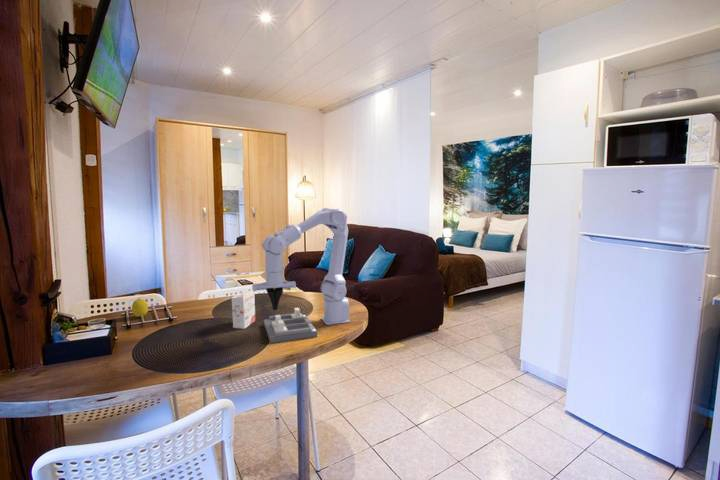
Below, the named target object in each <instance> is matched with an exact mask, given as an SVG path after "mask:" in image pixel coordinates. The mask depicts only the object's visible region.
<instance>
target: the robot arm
mask: <svg viewBox="0 0 720 480" xmlns="http://www.w3.org/2000/svg"><path fill="white" fill-rule="evenodd" d="M347 215H348V214H346V213H345V212H344V210H342V209H341V208H328V207H324V208H322V209H321V210H318V211H317V212H315V213H313V215H311V216H309V217H308V218H306V219H305V220H303V221H302V222H300V223H299V224H297V225H295V224H286V225H285V228H283V229H282V230H280V231H279V232H278V231H275V232H273V233H274V235H268V236H267V237H265V238H264V240H263V242H262V244H261V247H262V249H263V250H264V252H265V256H264V257H265V258H264V261H265V268H264V269H265V282H260V283H253V284H252V285H251V286H252V290H253V291H254V292H256V291H264V290H265V291H266V292H267V294H268V297H269V299H270V303H271V308H272V311H276V310H278V306H279V302H280V300H281V298H282V295H283V293H284V289H291V288H293V289H296V287H297V283H296V281H294V280H293V281H291V280H289V281H288V280H287V281H285V280H284V278H283V277H284V274H283V273H284V272H283V270H284V269H283V268H284V267H283V265H284V264H283V253H284V251H285V250H286V248H287V247H288V246H291V245H292V244H293V243H296V241H298V240H300V239H301V238H302V235H303V234H304V233H306V232H308V231H310V230H312V229H313V228H315V227H317V226H318V225H324V226H325V227H327V228H329V230H330V231H331V232H332V233H333V237H332V245H331V251H330V259H329V267H328V272H327V274H326V275H325V276H324V278H323V281H322V283H321V285H320V291H321V293H322V295H323V302H324V303H323V306H324V307H323V308H324V309H323V311H324V313H323V314H324V316H322V317H320V318H321V320H322V321H323V322H324V323H325V325H326V326H329V325H330V326H331V325H337V324H343V323H344V324H345V323H350V302H349V299H348V297H346V295H347V287H346V284H347V283H346V280H345V277H344V276H343V274H344V273H343V272H344V265H345V257H346V252H347V251H346V250H347V243H348V236H349V228H348V227H349V226H348V222H347V220H348V216H347Z"/></svg>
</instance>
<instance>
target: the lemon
mask: <svg viewBox="0 0 720 480" xmlns="http://www.w3.org/2000/svg"><path fill="white" fill-rule="evenodd" d="M148 311H149V304H148V302H147V301H146V299H144V298H141V297H138V298H137V299H136V300H134V301H133V302H132V304H131V312H132V314H133V315H134V316H136V317H138V318H140V317H139V316H140V315H142V317H144V316H145V315H147V313H148Z"/></svg>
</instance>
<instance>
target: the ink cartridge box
mask: <svg viewBox="0 0 720 480" xmlns="http://www.w3.org/2000/svg"><path fill="white" fill-rule="evenodd" d="M255 304H256V302H255V291H253V290H252V285H250V286H248V287H245V288H243V289H242V290H241V292H240V293H238V294H236V295H234V296H233V297H231V313H232V328H233V329H241V330H245V329H246V328H248V327H249V326H250V325H252V324H253V323H255V322H256V305H255Z"/></svg>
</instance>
